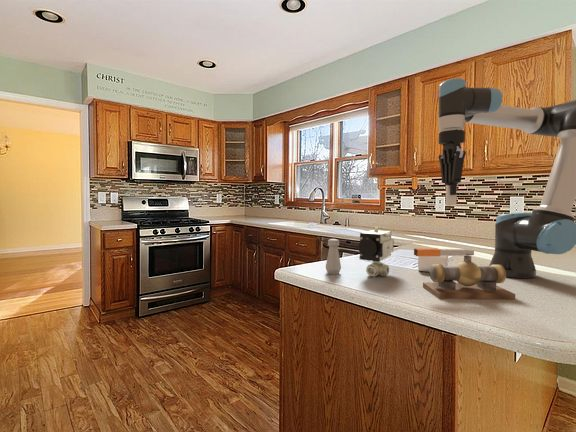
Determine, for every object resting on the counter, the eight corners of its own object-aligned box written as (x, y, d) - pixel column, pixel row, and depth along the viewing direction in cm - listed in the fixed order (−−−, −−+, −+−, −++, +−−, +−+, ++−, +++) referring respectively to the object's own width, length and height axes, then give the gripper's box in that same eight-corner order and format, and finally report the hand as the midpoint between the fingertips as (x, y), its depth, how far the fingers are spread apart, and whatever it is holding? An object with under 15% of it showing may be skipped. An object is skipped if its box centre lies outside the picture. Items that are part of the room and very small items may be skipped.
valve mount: (491, 287, 111) (492, 253, 110) (515, 299, 99) (517, 260, 98) (422, 287, 111) (423, 252, 110) (438, 298, 99) (439, 259, 98)
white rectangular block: (446, 275, 127) (446, 254, 127) (417, 272, 132) (418, 252, 131) (448, 269, 138) (448, 250, 137) (421, 267, 142) (422, 248, 142)
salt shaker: (343, 273, 130) (344, 239, 129) (335, 276, 125) (335, 240, 125) (331, 271, 134) (331, 237, 133) (322, 273, 129) (322, 239, 129)
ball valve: (380, 281, 117) (381, 230, 116) (356, 278, 122) (357, 228, 121) (395, 272, 132) (396, 226, 131) (373, 269, 137) (374, 225, 136)
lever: (470, 254, 106) (470, 248, 106) (475, 256, 103) (476, 250, 102) (413, 254, 105) (413, 248, 105) (417, 256, 102) (417, 249, 102)
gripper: (474, 126, 102) (473, 206, 103) (453, 134, 115) (452, 204, 116) (449, 127, 102) (449, 206, 103) (430, 134, 115) (430, 205, 116)
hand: (451, 205), depth 110 cm, fingers closed
